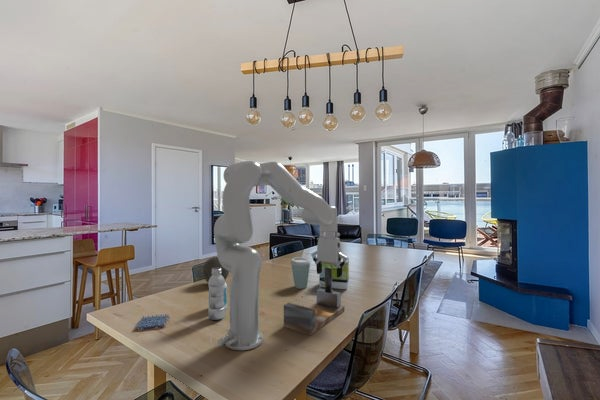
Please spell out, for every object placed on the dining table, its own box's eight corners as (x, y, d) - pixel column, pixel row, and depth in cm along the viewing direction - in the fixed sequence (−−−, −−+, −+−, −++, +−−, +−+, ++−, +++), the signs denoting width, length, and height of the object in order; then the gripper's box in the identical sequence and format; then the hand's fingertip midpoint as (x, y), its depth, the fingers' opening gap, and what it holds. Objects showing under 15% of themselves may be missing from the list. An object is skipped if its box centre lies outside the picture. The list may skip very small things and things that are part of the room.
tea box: (319, 287, 151) (319, 260, 151) (322, 282, 161) (322, 256, 161) (347, 289, 148) (347, 261, 148) (349, 284, 158) (348, 257, 157)
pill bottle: (208, 313, 118) (208, 280, 118) (209, 306, 126) (209, 276, 125) (227, 311, 120) (227, 279, 120) (226, 304, 128) (226, 274, 127)
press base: (310, 335, 99) (310, 312, 99) (283, 326, 106) (283, 305, 106) (344, 311, 120) (344, 292, 120) (320, 304, 127) (320, 287, 127)
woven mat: (133, 333, 102) (133, 328, 102) (141, 321, 112) (141, 316, 112) (165, 330, 104) (165, 324, 104) (170, 318, 115) (170, 313, 115)
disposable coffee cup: (314, 285, 155) (313, 258, 155) (304, 291, 145) (304, 262, 145) (297, 282, 160) (297, 256, 160) (286, 288, 151) (286, 259, 151)
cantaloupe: (231, 286, 154) (231, 258, 154) (203, 289, 149) (203, 261, 148) (227, 279, 167) (227, 254, 167) (202, 282, 162) (202, 256, 162)
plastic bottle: (218, 314, 117) (218, 265, 117) (228, 318, 113) (228, 268, 113) (204, 319, 112) (204, 268, 112) (214, 323, 108) (214, 271, 108)
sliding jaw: (337, 308, 117) (337, 270, 117) (316, 303, 123) (316, 267, 123) (340, 305, 119) (340, 268, 119) (320, 301, 125) (320, 265, 125)
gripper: (351, 235, 119) (351, 275, 119) (316, 232, 129) (316, 270, 129) (342, 237, 113) (343, 280, 113) (306, 234, 123) (307, 274, 123)
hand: (329, 274), depth 121 cm, fingers open, 9 cm apart
